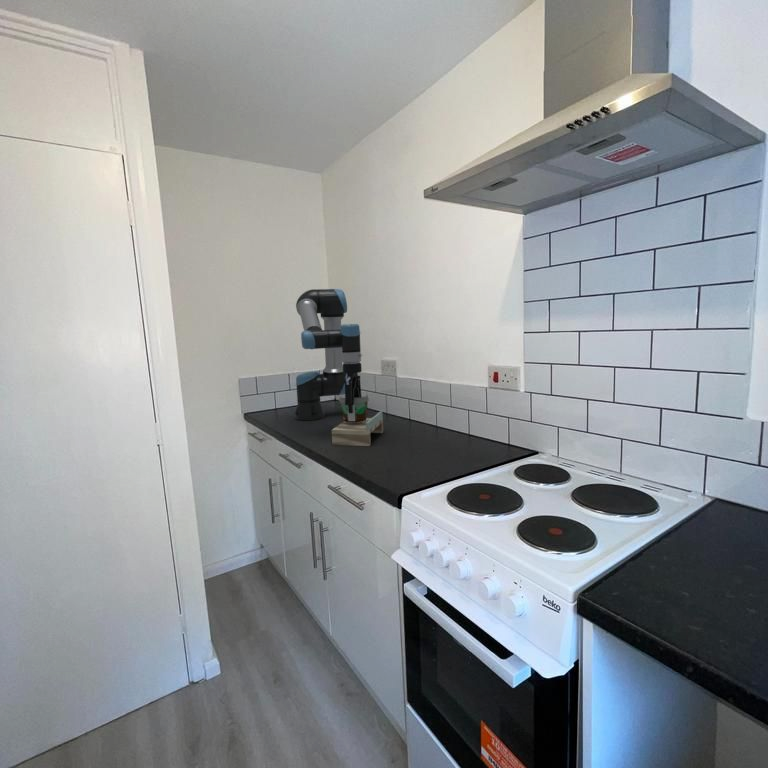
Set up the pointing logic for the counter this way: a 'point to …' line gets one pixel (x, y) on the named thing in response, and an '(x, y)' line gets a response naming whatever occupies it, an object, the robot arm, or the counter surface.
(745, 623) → the counter surface
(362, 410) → the food container
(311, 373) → the robot arm
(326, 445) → the counter surface
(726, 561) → the counter surface
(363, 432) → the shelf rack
